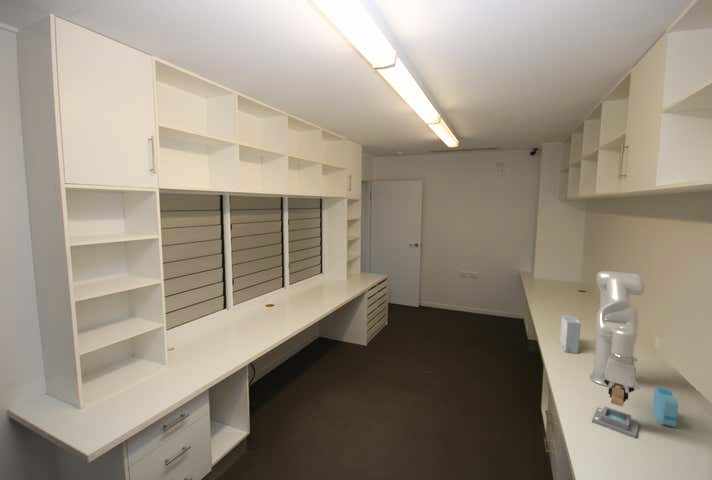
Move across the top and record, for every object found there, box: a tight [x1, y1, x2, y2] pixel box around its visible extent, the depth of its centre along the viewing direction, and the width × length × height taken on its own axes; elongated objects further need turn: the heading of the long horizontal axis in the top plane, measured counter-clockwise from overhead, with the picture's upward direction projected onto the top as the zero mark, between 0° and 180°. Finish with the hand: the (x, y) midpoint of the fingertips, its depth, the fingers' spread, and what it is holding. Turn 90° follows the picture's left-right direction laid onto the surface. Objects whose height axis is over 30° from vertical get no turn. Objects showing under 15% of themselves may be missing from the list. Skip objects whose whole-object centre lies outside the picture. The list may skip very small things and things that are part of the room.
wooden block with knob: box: [610, 383, 625, 408], centre depth 148 cm, size 4×4×8 cm
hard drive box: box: [559, 314, 582, 354], centre depth 225 cm, size 16×8×20 cm, turn 161°
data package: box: [651, 387, 679, 428], centre depth 152 cm, size 12×4×12 cm, turn 156°
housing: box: [591, 406, 640, 439], centre depth 150 cm, size 13×15×4 cm
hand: (617, 397), depth 149 cm, fingers closed on wooden block with knob, 4 cm apart
